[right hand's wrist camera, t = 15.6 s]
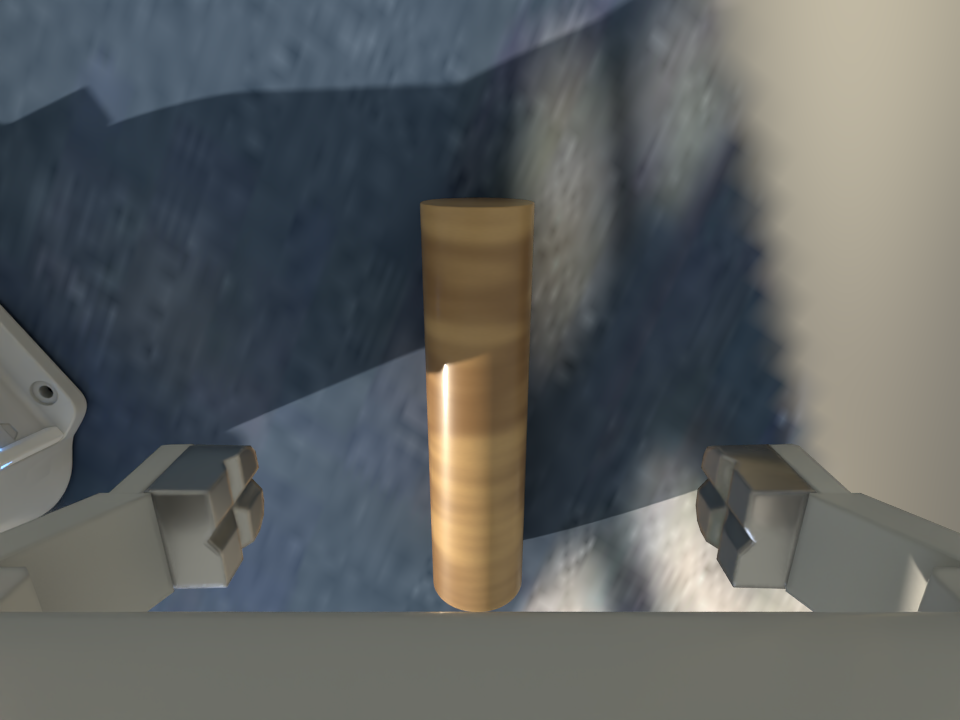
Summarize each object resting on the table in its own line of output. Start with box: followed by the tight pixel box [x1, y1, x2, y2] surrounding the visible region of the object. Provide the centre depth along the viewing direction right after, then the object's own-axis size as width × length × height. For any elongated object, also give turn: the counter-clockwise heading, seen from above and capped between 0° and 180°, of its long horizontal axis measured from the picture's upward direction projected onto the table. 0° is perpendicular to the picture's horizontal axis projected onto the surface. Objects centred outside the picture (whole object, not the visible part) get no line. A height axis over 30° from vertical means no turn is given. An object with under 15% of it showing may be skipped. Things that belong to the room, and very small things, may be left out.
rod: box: [420, 198, 535, 612], centre depth 33 cm, size 25×6×6 cm, turn 0°
